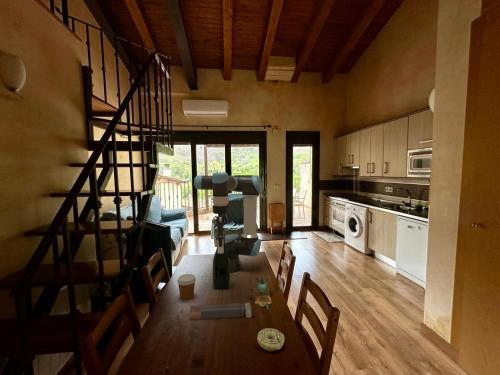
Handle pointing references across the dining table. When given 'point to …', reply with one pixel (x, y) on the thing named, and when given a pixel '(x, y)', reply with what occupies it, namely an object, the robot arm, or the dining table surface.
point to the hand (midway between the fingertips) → (220, 248)
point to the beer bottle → (221, 269)
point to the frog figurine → (266, 298)
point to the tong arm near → (217, 312)
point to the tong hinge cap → (247, 310)
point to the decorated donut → (268, 343)
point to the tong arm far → (218, 306)
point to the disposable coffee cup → (186, 286)
